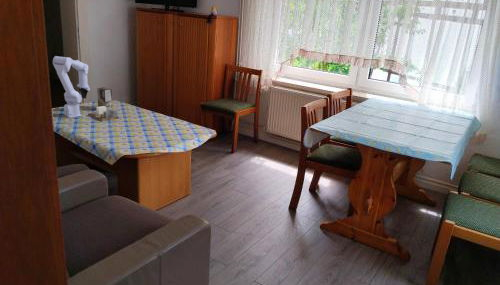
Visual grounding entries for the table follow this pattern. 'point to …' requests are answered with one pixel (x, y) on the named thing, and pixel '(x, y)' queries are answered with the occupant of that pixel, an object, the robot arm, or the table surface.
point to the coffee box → (105, 98)
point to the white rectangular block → (100, 110)
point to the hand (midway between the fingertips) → (84, 98)
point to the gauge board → (105, 115)
